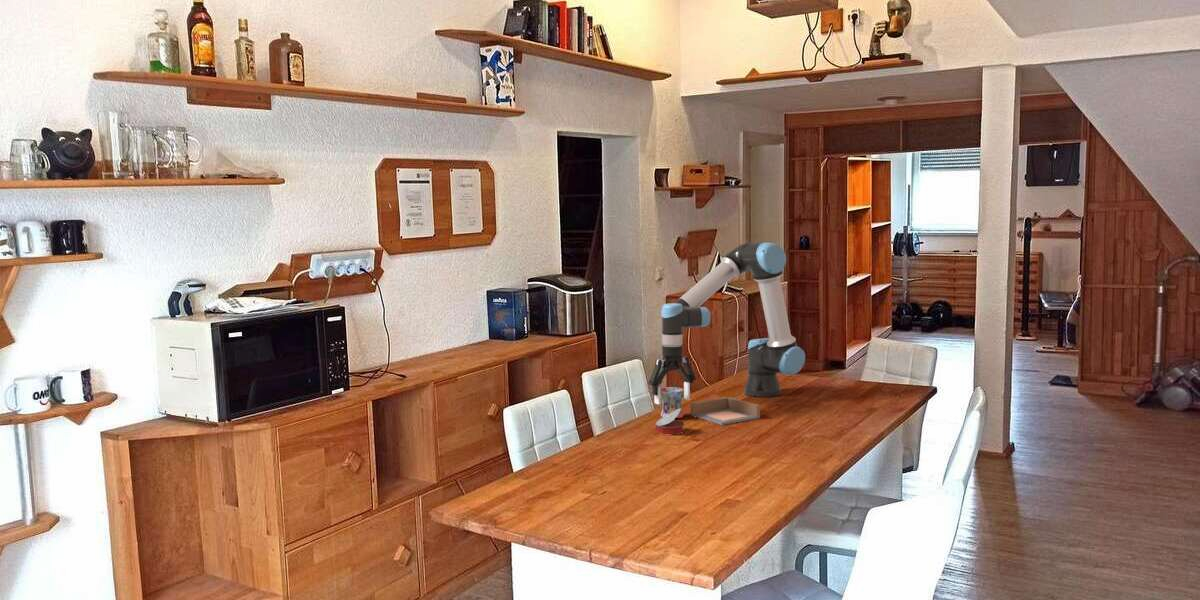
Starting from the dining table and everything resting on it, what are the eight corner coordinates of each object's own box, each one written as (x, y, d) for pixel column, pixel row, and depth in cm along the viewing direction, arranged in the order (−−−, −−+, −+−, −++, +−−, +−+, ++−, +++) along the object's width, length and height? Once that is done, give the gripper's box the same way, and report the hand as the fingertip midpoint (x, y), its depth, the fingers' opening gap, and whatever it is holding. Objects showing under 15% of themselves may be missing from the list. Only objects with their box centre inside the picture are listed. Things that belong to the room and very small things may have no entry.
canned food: (676, 448, 316) (671, 426, 310) (652, 441, 321) (646, 419, 316) (692, 427, 323) (688, 406, 317) (669, 421, 328) (663, 399, 323)
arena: (728, 409, 351) (728, 396, 351) (759, 418, 336) (759, 405, 336) (690, 416, 342) (690, 402, 342) (721, 425, 327) (721, 411, 326)
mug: (679, 421, 334) (679, 393, 333) (655, 419, 338) (655, 391, 337) (690, 414, 345) (690, 386, 344) (667, 412, 349) (666, 385, 348)
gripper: (692, 341, 348) (692, 396, 350) (638, 346, 335) (638, 403, 337) (705, 343, 342) (704, 399, 344) (650, 349, 329) (650, 407, 331)
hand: (672, 401), depth 341 cm, fingers open, 13 cm apart
